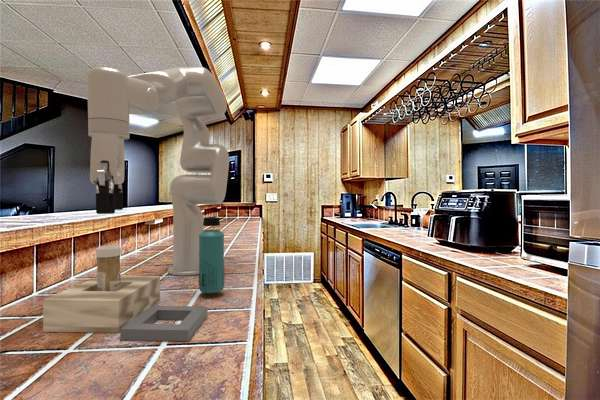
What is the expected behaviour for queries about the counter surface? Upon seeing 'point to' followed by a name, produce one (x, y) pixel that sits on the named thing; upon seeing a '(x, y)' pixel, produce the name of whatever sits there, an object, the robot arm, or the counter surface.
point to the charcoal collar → (148, 331)
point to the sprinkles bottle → (108, 268)
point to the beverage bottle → (211, 258)
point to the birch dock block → (100, 305)
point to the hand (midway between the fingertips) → (110, 211)
